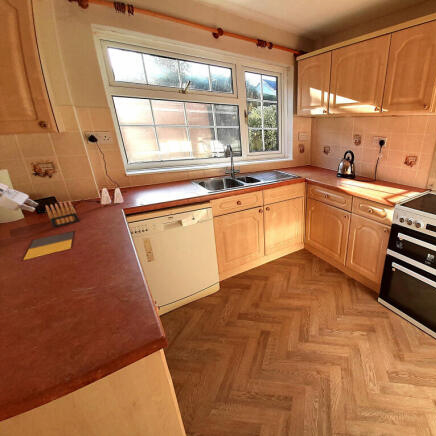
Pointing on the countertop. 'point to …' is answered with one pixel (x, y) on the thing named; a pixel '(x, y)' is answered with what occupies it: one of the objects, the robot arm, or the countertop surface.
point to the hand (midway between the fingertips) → (35, 207)
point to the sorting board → (49, 245)
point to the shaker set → (106, 197)
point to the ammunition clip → (62, 215)
